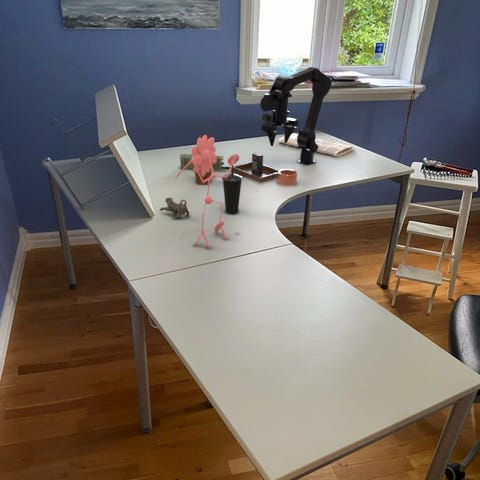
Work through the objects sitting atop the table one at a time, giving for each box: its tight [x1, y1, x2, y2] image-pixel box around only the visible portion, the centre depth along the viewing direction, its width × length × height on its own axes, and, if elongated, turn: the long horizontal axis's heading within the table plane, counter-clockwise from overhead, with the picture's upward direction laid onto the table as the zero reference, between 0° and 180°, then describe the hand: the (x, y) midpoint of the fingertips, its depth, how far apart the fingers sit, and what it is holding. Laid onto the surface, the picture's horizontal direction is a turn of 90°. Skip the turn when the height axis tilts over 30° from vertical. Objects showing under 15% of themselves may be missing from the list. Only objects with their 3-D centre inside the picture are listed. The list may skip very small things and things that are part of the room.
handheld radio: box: [179, 153, 230, 172], centre depth 230 cm, size 7×3×25 cm
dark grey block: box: [251, 152, 264, 176], centre depth 224 cm, size 3×5×9 cm, turn 39°
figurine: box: [174, 134, 240, 249], centre depth 162 cm, size 15×26×35 cm, turn 142°
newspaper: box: [277, 133, 354, 157], centre depth 266 cm, size 37×19×3 cm, turn 50°
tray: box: [233, 161, 281, 184], centre depth 227 cm, size 14×19×3 cm
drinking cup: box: [221, 165, 243, 215], centre depth 186 cm, size 8×8×20 cm
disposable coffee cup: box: [192, 155, 212, 185], centre depth 215 cm, size 10×10×12 cm
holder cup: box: [277, 168, 298, 186], centre depth 218 cm, size 8×8×5 cm
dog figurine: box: [159, 197, 190, 220], centre depth 185 cm, size 12×6×7 cm, turn 53°
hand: (278, 144), depth 227 cm, fingers open, 9 cm apart
